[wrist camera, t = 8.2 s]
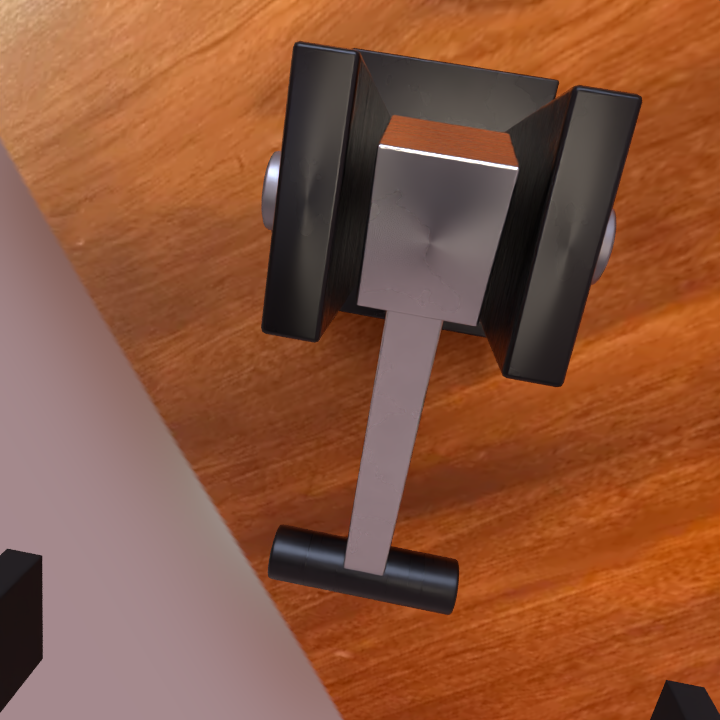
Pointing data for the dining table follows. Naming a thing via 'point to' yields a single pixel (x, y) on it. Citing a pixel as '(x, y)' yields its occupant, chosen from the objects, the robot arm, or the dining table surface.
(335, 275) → the switch bracket
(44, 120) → the dining table surface
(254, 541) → the dining table surface
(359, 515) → the switch lever
